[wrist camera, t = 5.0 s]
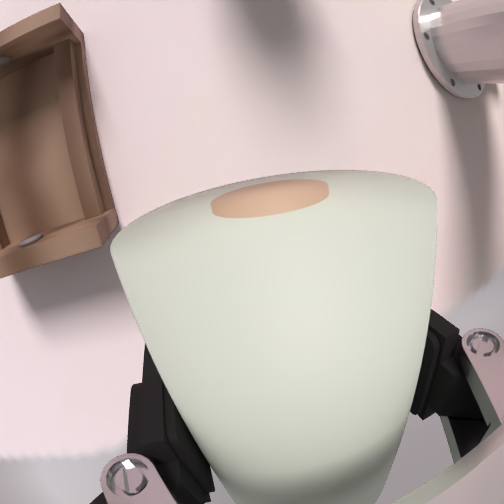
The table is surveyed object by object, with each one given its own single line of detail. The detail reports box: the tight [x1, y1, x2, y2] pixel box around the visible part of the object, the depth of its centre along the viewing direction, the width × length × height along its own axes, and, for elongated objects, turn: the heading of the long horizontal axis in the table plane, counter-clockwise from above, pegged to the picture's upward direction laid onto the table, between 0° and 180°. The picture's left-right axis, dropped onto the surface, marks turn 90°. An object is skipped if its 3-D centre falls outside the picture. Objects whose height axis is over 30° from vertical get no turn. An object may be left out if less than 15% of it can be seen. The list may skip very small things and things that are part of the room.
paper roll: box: [110, 170, 437, 504], centre depth 8 cm, size 10×6×6 cm, turn 11°
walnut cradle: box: [0, 3, 119, 278], centre depth 15 cm, size 11×15×6 cm
